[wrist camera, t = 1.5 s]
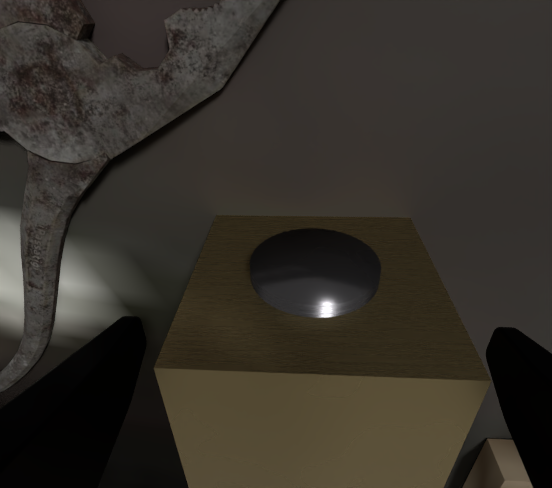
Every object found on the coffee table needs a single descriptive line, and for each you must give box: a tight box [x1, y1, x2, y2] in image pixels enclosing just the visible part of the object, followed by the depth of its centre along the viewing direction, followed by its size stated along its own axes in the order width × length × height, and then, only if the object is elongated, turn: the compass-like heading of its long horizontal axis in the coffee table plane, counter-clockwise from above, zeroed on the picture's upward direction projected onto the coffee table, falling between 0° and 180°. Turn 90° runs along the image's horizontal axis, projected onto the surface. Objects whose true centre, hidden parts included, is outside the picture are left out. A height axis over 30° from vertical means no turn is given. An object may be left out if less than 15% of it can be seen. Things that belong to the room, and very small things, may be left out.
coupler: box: [154, 215, 491, 488], centre depth 9 cm, size 5×6×5 cm
